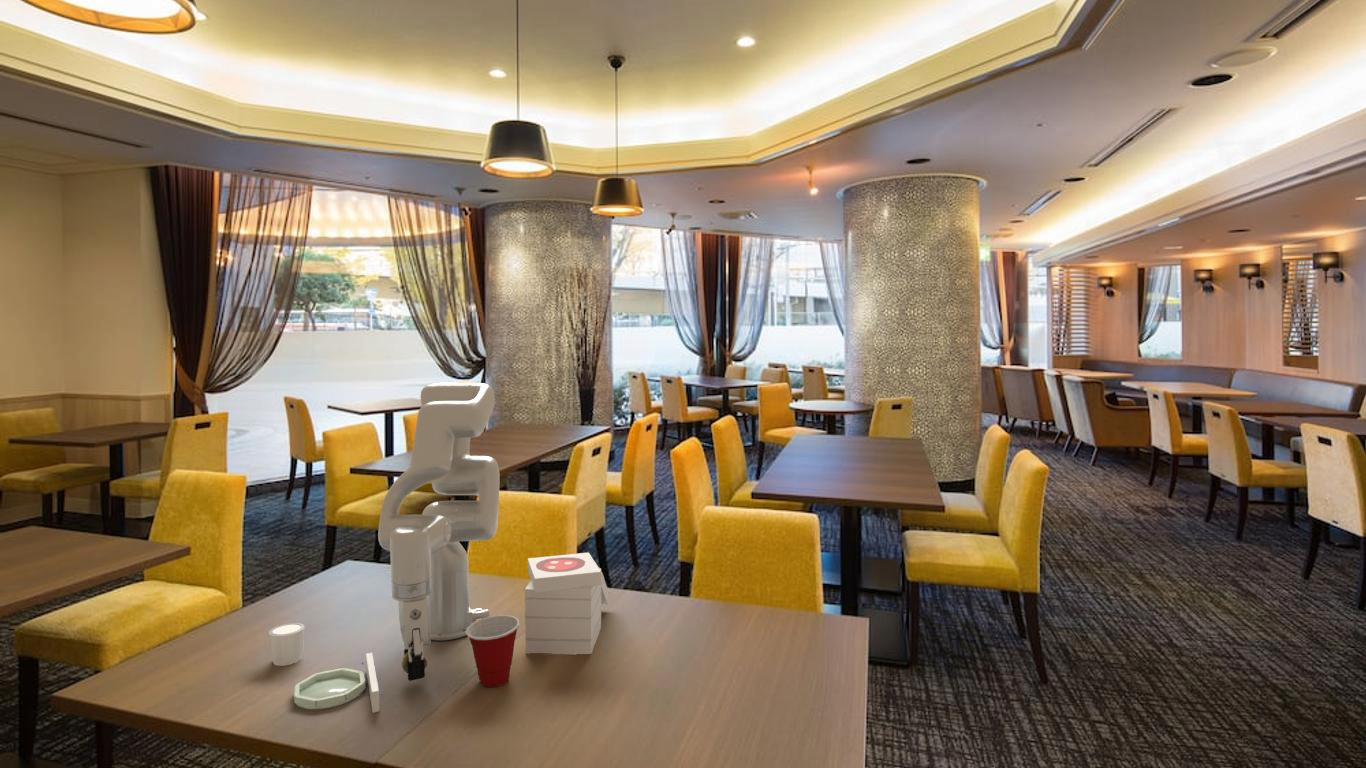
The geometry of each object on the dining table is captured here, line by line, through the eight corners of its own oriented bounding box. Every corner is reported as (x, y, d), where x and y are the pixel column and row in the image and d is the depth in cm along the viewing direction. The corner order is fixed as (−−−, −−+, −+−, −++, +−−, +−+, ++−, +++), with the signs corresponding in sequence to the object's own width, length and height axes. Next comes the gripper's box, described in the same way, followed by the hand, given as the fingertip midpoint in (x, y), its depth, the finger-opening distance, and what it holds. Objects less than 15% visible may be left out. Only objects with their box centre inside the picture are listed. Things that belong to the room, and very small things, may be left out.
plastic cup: (464, 673, 148) (463, 618, 147) (516, 664, 152) (515, 610, 151) (468, 698, 138) (467, 639, 137) (524, 688, 142) (523, 630, 141)
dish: (363, 671, 148) (363, 663, 148) (367, 699, 137) (367, 690, 137) (294, 685, 142) (294, 676, 142) (292, 715, 131) (292, 706, 131)
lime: (402, 670, 144) (401, 647, 144) (427, 666, 146) (426, 643, 146) (401, 681, 140) (401, 657, 140) (427, 677, 142) (426, 653, 141)
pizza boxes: (615, 607, 185) (615, 539, 183) (597, 659, 155) (597, 579, 153) (544, 605, 185) (543, 538, 184) (512, 657, 155) (511, 578, 154)
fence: (372, 670, 149) (372, 652, 148) (379, 711, 133) (378, 690, 133) (366, 672, 148) (365, 653, 148) (372, 712, 132) (371, 692, 132)
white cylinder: (289, 668, 150) (288, 636, 149) (262, 665, 151) (261, 633, 150) (312, 654, 156) (311, 623, 156) (286, 651, 158) (285, 621, 157)
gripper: (437, 598, 135) (440, 688, 137) (425, 569, 150) (428, 650, 152) (396, 606, 132) (399, 697, 134) (387, 575, 147) (391, 658, 149)
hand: (414, 671), depth 143 cm, fingers closed on lime, 4 cm apart
